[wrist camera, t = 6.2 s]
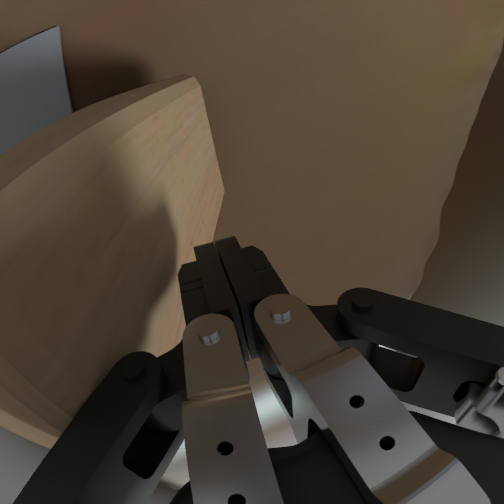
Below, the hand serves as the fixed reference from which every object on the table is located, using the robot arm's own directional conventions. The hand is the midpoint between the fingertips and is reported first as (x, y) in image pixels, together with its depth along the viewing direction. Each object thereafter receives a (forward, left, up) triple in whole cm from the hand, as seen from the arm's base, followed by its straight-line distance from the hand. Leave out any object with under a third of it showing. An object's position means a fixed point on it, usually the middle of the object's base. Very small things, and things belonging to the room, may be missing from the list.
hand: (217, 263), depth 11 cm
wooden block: (-1, -2, -15) cm, 15 cm away
